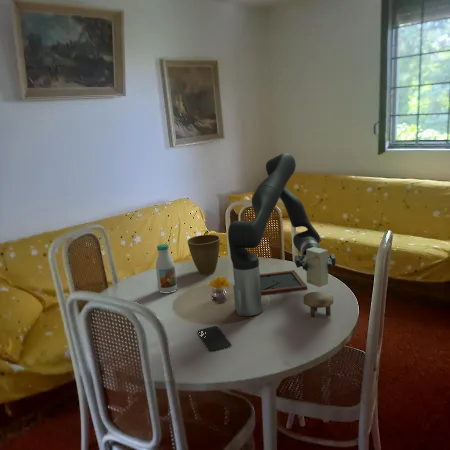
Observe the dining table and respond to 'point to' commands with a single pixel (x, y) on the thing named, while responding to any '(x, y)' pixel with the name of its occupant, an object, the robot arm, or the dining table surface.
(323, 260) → the skincare box
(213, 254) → the plant pot
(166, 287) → the milk bottle
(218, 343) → the phone
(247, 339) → the dining table surface
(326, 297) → the stool
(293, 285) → the picture frame
